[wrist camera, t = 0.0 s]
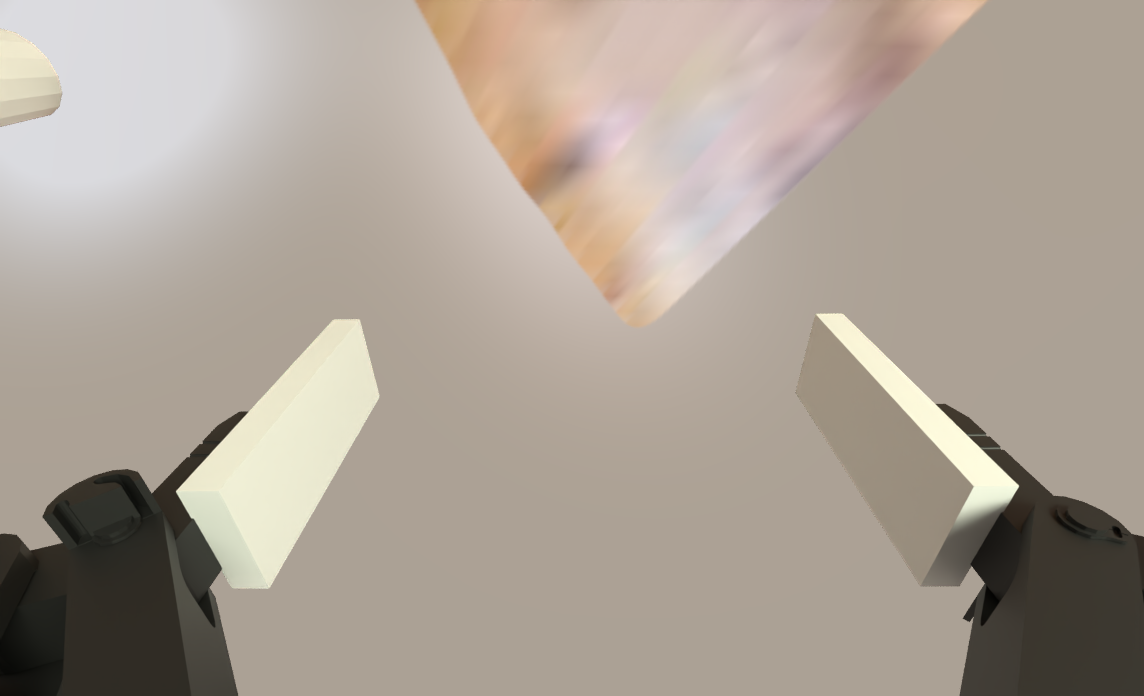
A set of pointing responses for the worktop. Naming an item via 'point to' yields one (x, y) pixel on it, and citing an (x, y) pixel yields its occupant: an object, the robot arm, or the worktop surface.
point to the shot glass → (25, 81)
